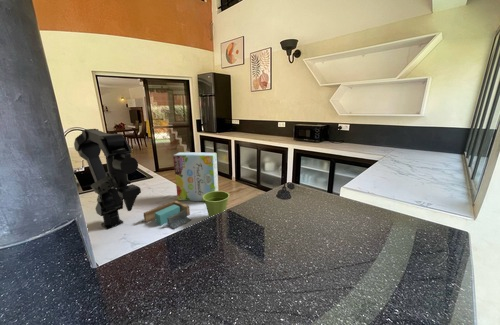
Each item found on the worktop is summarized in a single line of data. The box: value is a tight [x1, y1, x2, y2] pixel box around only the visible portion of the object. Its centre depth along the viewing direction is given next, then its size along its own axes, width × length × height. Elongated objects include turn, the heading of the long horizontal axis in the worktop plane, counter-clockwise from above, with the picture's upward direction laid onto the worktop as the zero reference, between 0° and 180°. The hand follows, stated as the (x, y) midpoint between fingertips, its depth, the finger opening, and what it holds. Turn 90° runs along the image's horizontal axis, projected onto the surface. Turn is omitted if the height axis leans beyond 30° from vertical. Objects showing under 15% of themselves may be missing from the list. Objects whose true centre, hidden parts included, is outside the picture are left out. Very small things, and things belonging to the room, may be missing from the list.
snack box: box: [172, 151, 219, 202], centre depth 114 cm, size 22×9×26 cm, turn 84°
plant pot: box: [203, 190, 230, 218], centre depth 95 cm, size 12×12×11 cm
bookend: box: [167, 210, 192, 230], centre depth 92 cm, size 4×9×4 cm, turn 145°
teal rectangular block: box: [155, 205, 180, 226], centre depth 95 cm, size 4×10×5 cm, turn 145°
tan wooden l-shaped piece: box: [143, 199, 191, 224], centre depth 96 cm, size 11×16×4 cm
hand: (123, 207), depth 81 cm, fingers open, 9 cm apart
